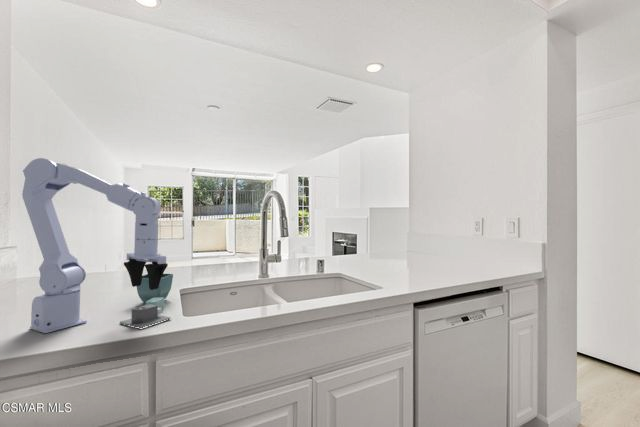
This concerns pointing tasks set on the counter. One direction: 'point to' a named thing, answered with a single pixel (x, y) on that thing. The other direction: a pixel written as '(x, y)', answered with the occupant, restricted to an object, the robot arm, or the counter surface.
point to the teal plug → (157, 302)
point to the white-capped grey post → (145, 313)
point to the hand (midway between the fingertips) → (145, 287)
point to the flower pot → (148, 294)
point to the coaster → (159, 319)
